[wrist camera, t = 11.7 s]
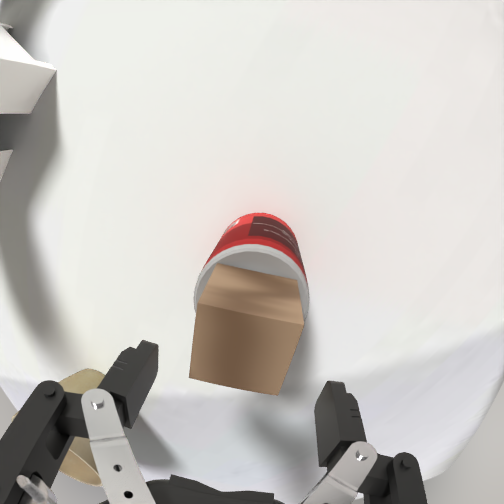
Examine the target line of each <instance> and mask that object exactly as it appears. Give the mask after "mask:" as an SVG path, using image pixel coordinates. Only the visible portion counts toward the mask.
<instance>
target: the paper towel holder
mask: <svg viewBox="0 0 504 504" xmlns="http://www.w3.org/2000/svg"><path fill="white" fill-rule="evenodd" d="M8 28H12V27H11V26H10V25H7V24H3V23H0V114H31V112H32V110H33V108H34V107H35V105H36V103H37V101H38V100H39V98H40V96H41V94H42V93H43V91H44V89H45V88H46V86H47V85H48V83H49V81H50V80H51V78H52V77H53V75H54V74H55V72H56V71H57V70H56V69H55V68H54V67H53V66H52V65H51V64H48V63H44V62H40V61H36V60H34V59H33V58H32V57H31V56H30V55H29V54H28V53H27V52H26V51H25V50H24V49H23V48H22V47H21V46H20V45H19V44H18V43H17V42H16V41H15V40H14V38H13V37H12V36H11V35H10V34H9V33H8V32H7V30H8ZM13 29H14V28H13ZM12 151H13V149H12V150H5V151H0V182H1V179H2V176H3V173H4V171H5V168H6V166H7V163H8V161H9V158H10V156H11V154H12Z"/></svg>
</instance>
